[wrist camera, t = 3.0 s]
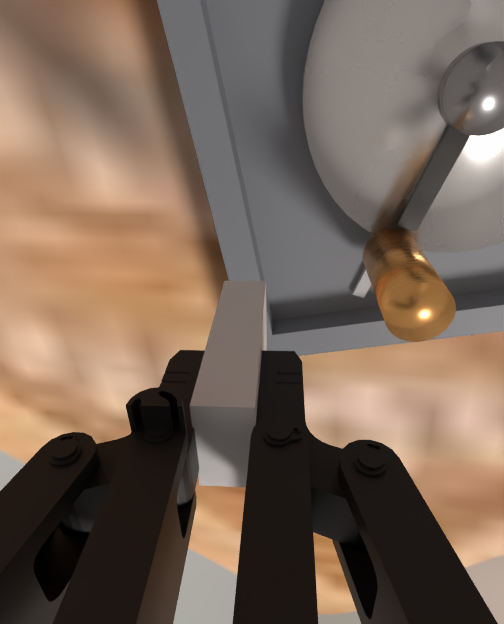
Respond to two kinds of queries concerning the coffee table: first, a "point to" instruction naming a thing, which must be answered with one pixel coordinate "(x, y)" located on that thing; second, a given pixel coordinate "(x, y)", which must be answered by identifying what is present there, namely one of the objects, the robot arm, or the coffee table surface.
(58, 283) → the coffee table surface
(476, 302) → the panel
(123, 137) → the coffee table surface
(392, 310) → the dial
